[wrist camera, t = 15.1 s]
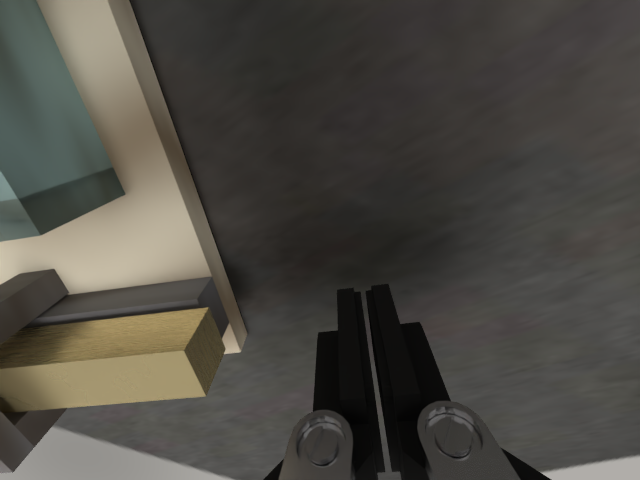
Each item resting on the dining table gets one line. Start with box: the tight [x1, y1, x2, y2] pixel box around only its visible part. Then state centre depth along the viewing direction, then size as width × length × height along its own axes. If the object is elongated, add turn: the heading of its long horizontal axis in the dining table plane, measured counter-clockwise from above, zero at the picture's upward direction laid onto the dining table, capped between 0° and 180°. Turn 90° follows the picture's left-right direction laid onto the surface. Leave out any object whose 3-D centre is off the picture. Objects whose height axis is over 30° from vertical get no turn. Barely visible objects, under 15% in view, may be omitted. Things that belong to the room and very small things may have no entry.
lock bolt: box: [0, 307, 226, 413], centre depth 11 cm, size 2×9×2 cm, turn 99°
